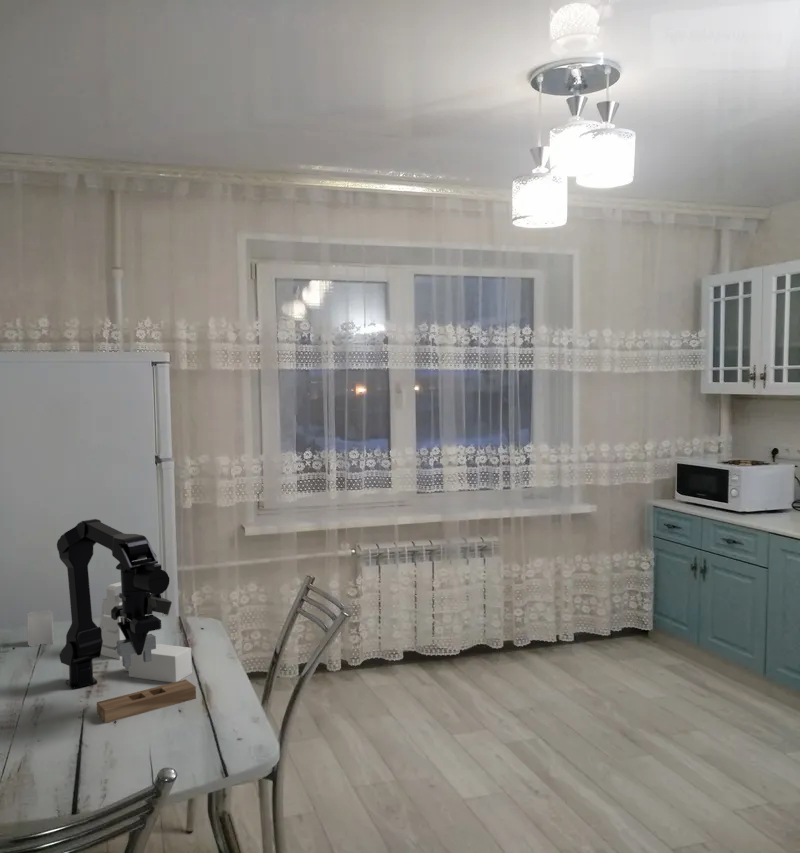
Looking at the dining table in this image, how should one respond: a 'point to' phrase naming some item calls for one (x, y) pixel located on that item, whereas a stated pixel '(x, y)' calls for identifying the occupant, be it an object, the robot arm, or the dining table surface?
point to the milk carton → (162, 664)
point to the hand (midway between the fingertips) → (137, 653)
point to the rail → (145, 700)
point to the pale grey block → (40, 627)
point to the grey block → (127, 649)
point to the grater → (110, 623)
